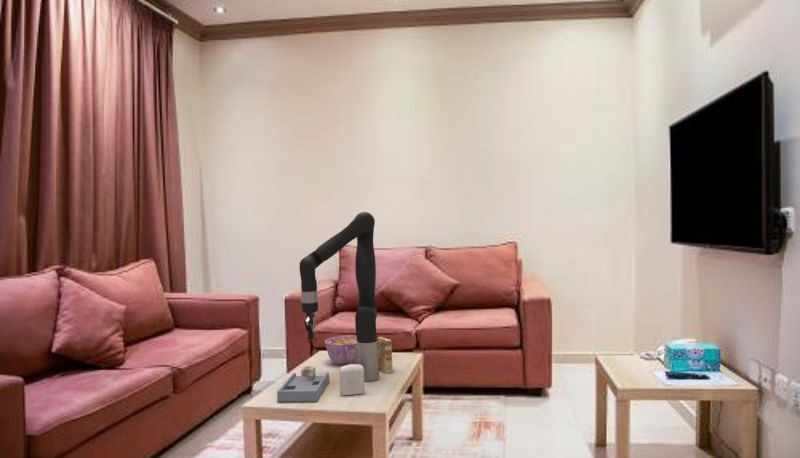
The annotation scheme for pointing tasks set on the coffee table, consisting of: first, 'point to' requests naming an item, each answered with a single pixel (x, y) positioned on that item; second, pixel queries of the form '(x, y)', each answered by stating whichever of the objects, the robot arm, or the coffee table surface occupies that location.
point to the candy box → (385, 354)
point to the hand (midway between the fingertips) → (311, 339)
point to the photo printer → (351, 379)
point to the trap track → (302, 389)
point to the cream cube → (308, 373)
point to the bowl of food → (342, 349)
